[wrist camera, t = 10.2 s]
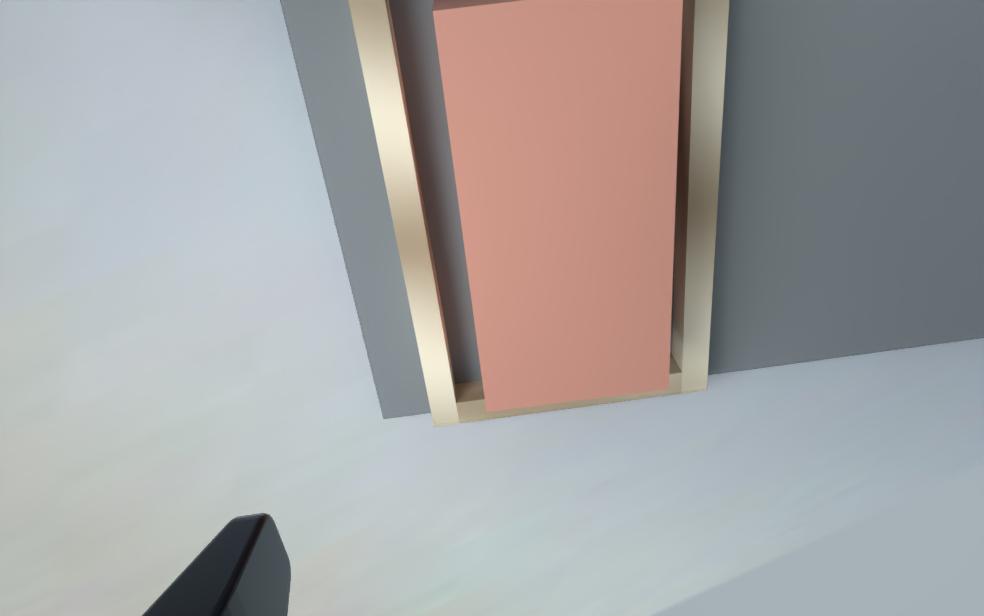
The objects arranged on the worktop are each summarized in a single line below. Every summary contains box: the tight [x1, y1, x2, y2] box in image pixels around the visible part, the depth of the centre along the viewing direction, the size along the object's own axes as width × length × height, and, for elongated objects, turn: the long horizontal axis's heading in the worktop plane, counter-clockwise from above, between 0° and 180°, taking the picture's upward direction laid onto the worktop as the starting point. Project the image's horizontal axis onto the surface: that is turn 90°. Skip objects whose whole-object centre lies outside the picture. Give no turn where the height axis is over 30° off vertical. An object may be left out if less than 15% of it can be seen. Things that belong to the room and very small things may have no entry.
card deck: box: [433, 0, 683, 412], centre depth 17 cm, size 5×10×3 cm, turn 6°
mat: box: [280, 0, 984, 419], centre depth 18 cm, size 17×23×1 cm
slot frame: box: [348, 0, 729, 427], centre depth 18 cm, size 14×9×1 cm, turn 6°
